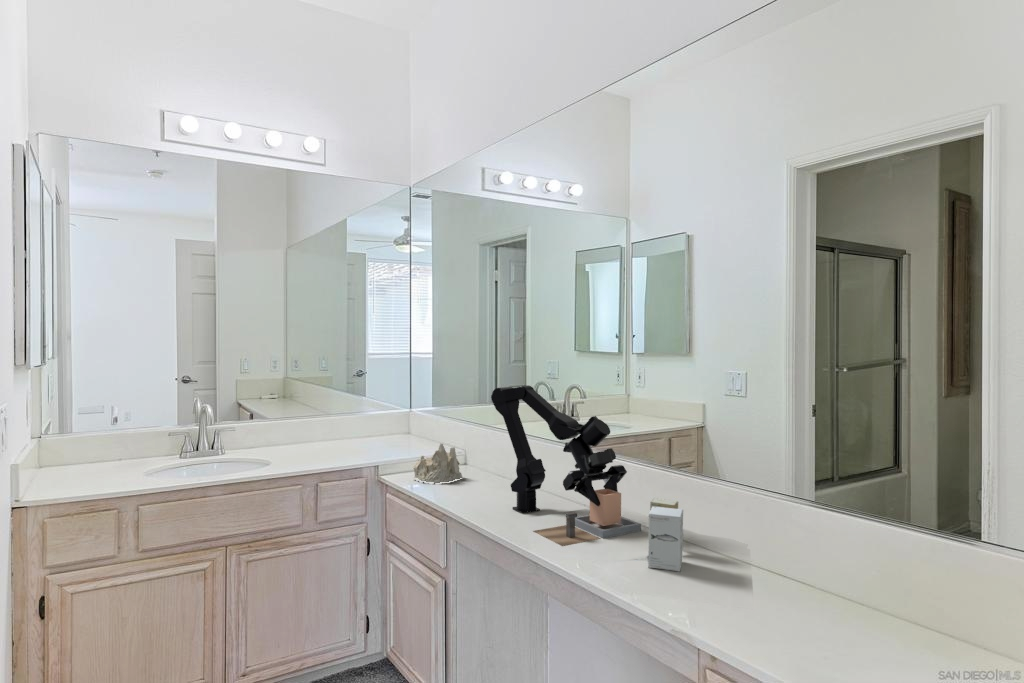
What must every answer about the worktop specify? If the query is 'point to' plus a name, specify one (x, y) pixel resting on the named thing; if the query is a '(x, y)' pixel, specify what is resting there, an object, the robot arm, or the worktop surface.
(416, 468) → the miniature mountain rock
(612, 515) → the terracotta collar
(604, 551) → the worktop surface
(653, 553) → the supplement box
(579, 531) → the walnut base
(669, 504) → the skincare box
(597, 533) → the charcoal tray
